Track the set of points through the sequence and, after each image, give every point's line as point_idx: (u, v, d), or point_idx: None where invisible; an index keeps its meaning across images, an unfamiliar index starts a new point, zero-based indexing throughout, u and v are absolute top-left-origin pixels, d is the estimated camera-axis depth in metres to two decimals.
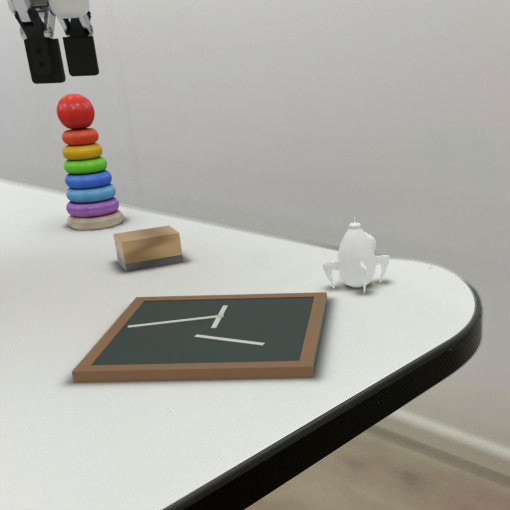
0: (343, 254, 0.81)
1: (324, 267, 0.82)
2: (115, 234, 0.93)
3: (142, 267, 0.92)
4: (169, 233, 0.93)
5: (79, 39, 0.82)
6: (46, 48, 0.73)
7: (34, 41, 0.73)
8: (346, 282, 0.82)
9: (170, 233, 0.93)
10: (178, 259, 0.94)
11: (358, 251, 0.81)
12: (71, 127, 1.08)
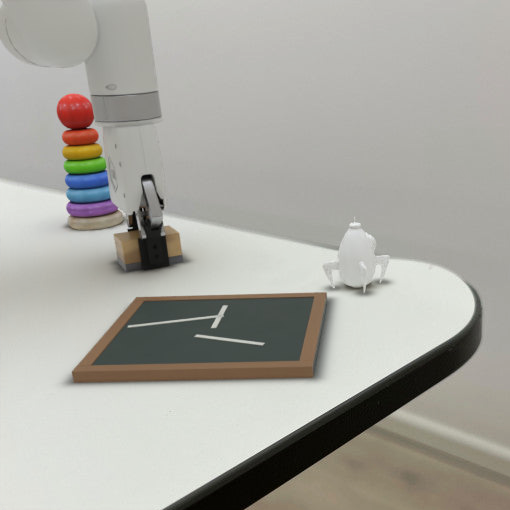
0: (343, 254, 0.81)
1: (324, 267, 0.82)
2: (115, 234, 0.93)
3: None
4: (169, 233, 0.93)
5: None
6: (160, 244, 0.91)
7: (151, 240, 0.90)
8: (346, 282, 0.82)
9: (170, 233, 0.93)
10: (178, 259, 0.94)
11: (358, 251, 0.81)
12: (71, 127, 1.08)
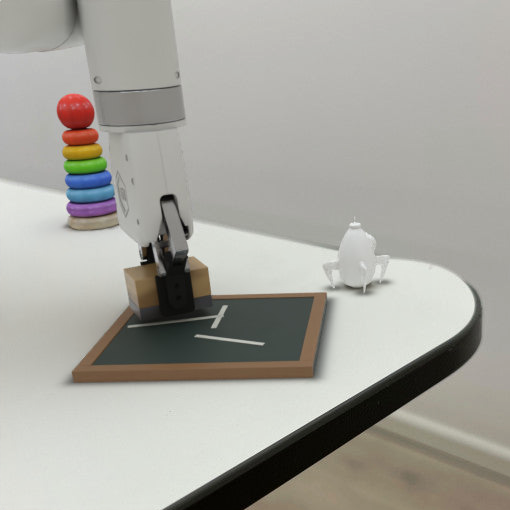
0: (343, 254, 0.81)
1: (324, 267, 0.82)
2: (126, 269, 0.73)
3: None
4: (195, 268, 0.73)
5: None
6: (184, 282, 0.71)
7: (172, 278, 0.70)
8: (346, 282, 0.82)
9: (196, 268, 0.73)
10: (206, 300, 0.74)
11: (358, 251, 0.81)
12: (71, 127, 1.08)
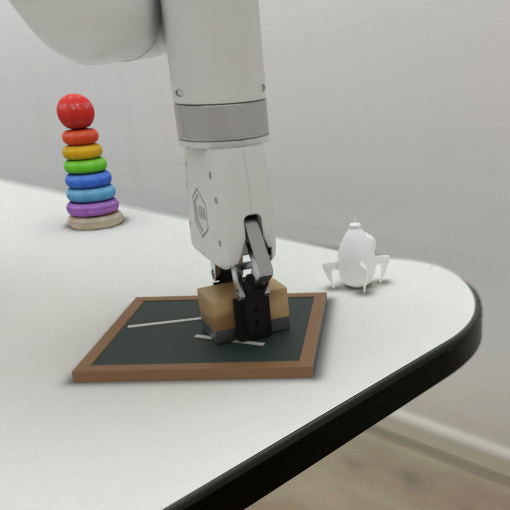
0: (343, 254, 0.81)
1: (324, 267, 0.82)
2: (200, 289, 0.69)
3: None
4: (273, 288, 0.69)
5: None
6: (263, 306, 0.67)
7: (252, 301, 0.66)
8: (346, 282, 0.82)
9: (275, 288, 0.69)
10: (284, 322, 0.70)
11: (358, 251, 0.81)
12: (71, 127, 1.08)
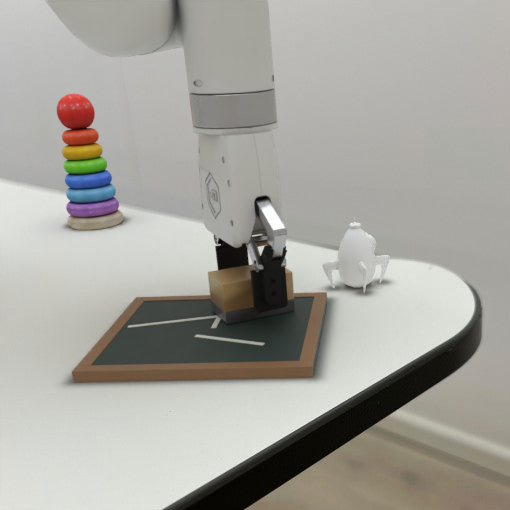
0: (343, 254, 0.81)
1: (324, 267, 0.82)
2: (210, 273, 0.73)
3: (245, 316, 0.72)
4: None
5: (235, 247, 0.77)
6: (279, 277, 0.70)
7: (269, 272, 0.69)
8: (346, 282, 0.82)
9: None
10: (289, 304, 0.74)
11: (358, 251, 0.81)
12: (71, 127, 1.08)
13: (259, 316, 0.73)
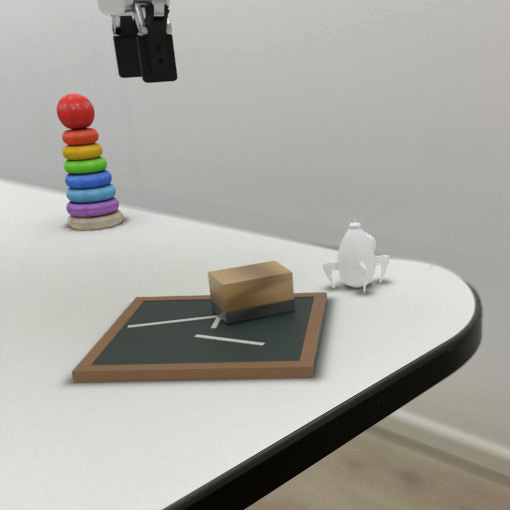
0: (343, 254, 0.81)
1: (324, 267, 0.82)
2: (210, 273, 0.73)
3: (245, 316, 0.72)
4: (280, 272, 0.73)
5: (133, 38, 0.78)
6: (166, 44, 0.70)
7: (154, 37, 0.69)
8: (346, 282, 0.82)
9: (281, 272, 0.73)
10: (289, 304, 0.74)
11: (358, 251, 0.81)
12: (71, 127, 1.08)
13: (259, 316, 0.73)
